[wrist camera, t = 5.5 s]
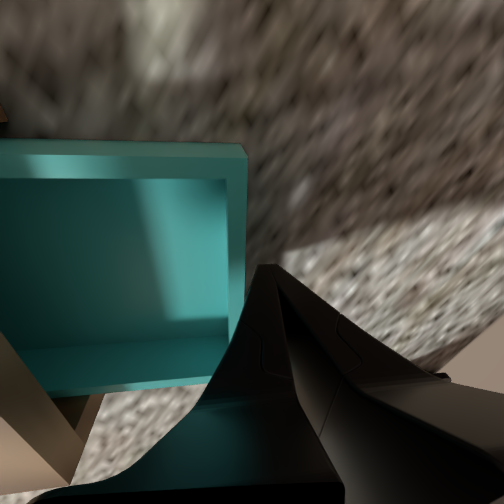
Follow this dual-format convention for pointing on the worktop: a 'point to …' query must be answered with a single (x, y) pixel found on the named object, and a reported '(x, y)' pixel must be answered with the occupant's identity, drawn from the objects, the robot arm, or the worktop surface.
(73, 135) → the worktop surface
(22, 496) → the worktop surface
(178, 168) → the tray
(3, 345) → the wooden drawer box
